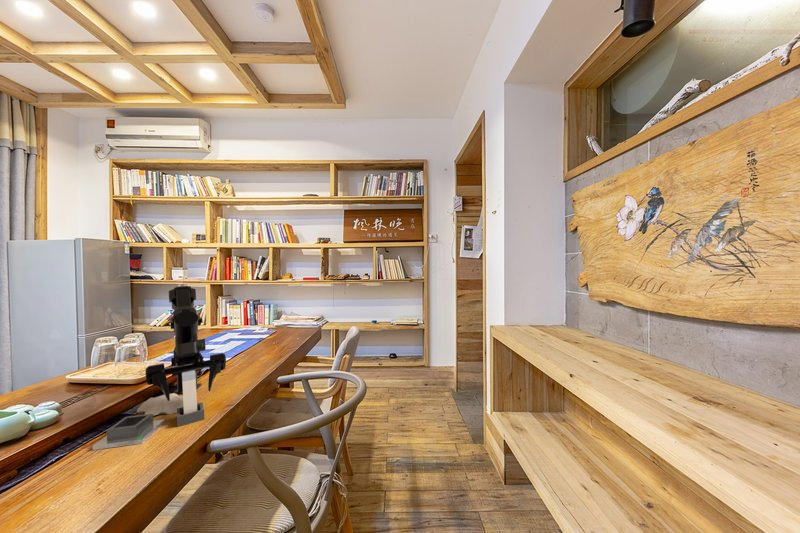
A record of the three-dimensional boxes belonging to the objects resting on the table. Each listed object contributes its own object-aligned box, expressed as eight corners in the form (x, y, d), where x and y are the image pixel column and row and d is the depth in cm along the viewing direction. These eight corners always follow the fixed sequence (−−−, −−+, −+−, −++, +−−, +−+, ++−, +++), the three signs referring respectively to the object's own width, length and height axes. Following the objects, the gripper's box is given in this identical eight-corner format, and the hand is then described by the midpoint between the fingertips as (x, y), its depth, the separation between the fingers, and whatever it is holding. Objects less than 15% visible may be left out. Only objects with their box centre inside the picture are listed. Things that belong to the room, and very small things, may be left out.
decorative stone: (126, 420, 87) (180, 422, 87) (125, 407, 87) (179, 410, 87) (156, 398, 98) (204, 400, 98) (156, 387, 97) (203, 389, 98)
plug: (184, 417, 86) (182, 372, 86) (197, 414, 88) (194, 370, 88) (184, 422, 83) (182, 376, 83) (197, 419, 85) (195, 373, 85)
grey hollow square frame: (177, 417, 86) (177, 408, 86) (202, 410, 90) (202, 402, 90) (177, 426, 81) (176, 417, 81) (204, 419, 84) (204, 410, 84)
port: (122, 428, 82) (121, 415, 82) (165, 422, 83) (164, 409, 83) (92, 450, 72) (91, 435, 72) (142, 443, 74) (141, 428, 74)
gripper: (144, 336, 83) (142, 389, 74) (223, 326, 94) (230, 371, 85) (148, 359, 90) (146, 411, 81) (222, 347, 101) (228, 391, 92)
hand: (189, 395), depth 84 cm, fingers open, 9 cm apart
